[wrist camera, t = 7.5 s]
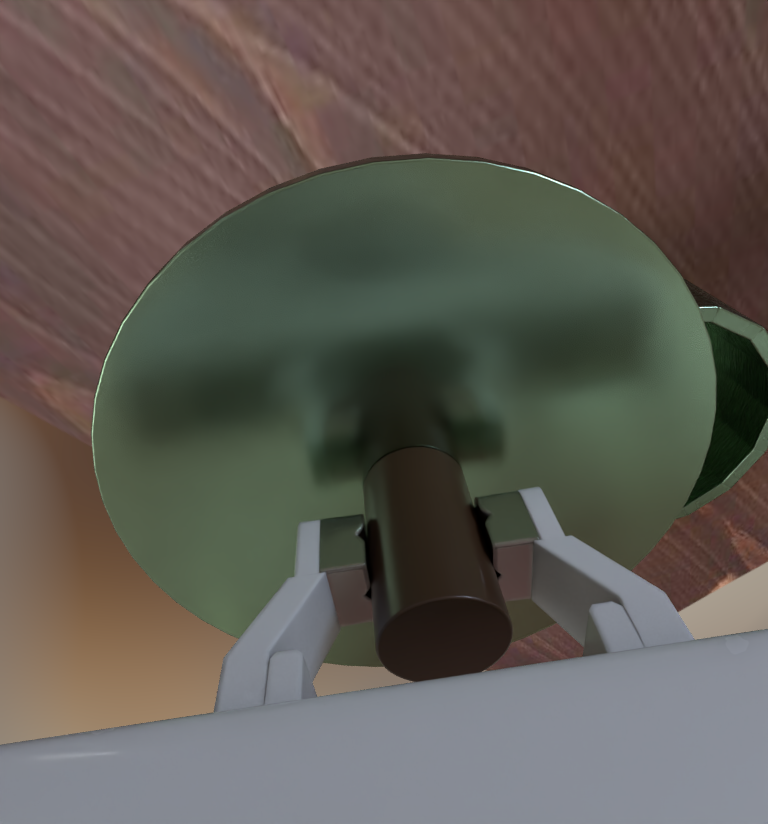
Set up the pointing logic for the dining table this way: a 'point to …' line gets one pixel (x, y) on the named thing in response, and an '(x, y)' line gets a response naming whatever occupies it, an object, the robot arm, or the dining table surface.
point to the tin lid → (401, 396)
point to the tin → (732, 398)
